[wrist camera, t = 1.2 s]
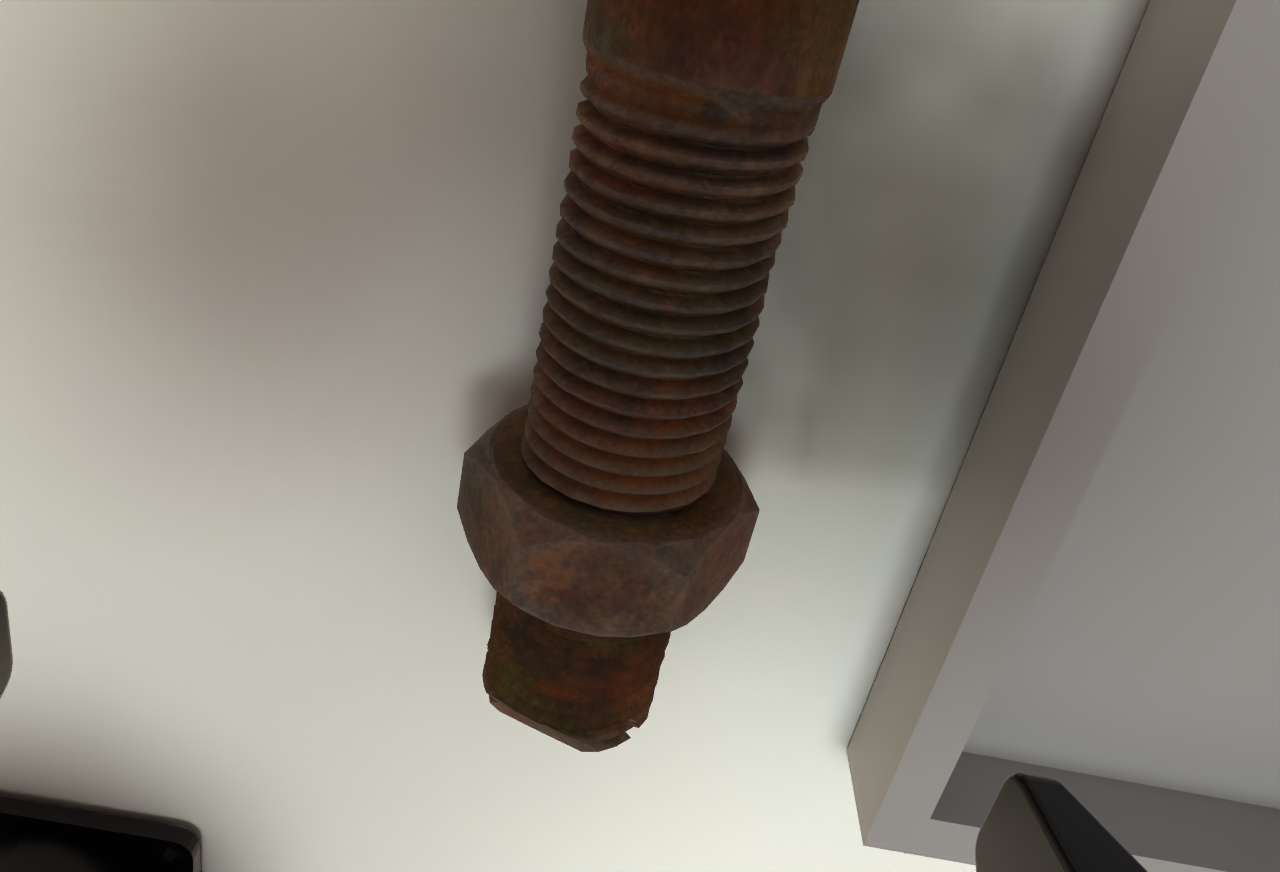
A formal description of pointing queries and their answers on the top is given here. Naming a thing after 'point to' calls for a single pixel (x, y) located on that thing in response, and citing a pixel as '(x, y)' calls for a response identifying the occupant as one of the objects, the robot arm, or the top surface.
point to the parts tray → (1118, 497)
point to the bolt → (644, 353)
